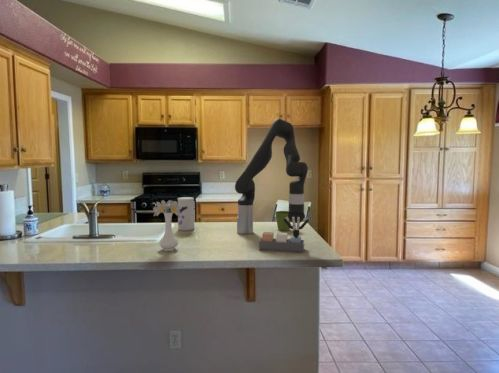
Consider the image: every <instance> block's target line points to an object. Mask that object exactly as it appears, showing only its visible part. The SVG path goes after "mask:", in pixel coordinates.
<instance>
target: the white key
mask: <svg viewBox="0 0 499 373" xmlns="http://www.w3.org/2000/svg"><path fill="white" fill-rule="evenodd" d="M275 236H276V237H275V239H276V242H285V243H287V239H288V232H276V235H275Z"/></svg>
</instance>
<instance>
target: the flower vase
mask: <svg viewBox="0 0 499 373" xmlns="http://www.w3.org/2000/svg"><path fill="white" fill-rule="evenodd" d="M155 203H156V204H155V206H154V207H152V211H153V213H154V214H153V217H155V216H156V217H158V216H159V215H160V214H161V213H163V215H164V222H165V224H164V226H165V228H164V234H163V236H162V237H161V238H160V239H159V243H158V245H159V246H160V248H162V251H164V252H172V251H175V250H176V248H177V246H178V245H179V240H178V238H176V237H175V235H174V233H173V228H172V227H173V226H172V225H173V224H172V220H173V219H172V217H173V214H175V215H176V216H177V217H178V216H179V213H181V212H180V211H179V210H180V209H182V207H181V206H179V205H178V201H176V200H170V199H169V200H168V201H165V200H164V199H163V200H161V201H156V202H155Z"/></svg>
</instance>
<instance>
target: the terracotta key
mask: <svg viewBox="0 0 499 373" xmlns="http://www.w3.org/2000/svg"><path fill="white" fill-rule="evenodd" d="M274 236H275V232H272V231H271V232H269V231H263V233H262V234H261V238H262V241H265V242H273V241H274V239H275V238H274Z"/></svg>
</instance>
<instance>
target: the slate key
mask: <svg viewBox="0 0 499 373" xmlns="http://www.w3.org/2000/svg"><path fill="white" fill-rule="evenodd" d="M301 240H302V236H301V235H299V236H298V238H295V236H293V235H291V236H290V243H301Z"/></svg>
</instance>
